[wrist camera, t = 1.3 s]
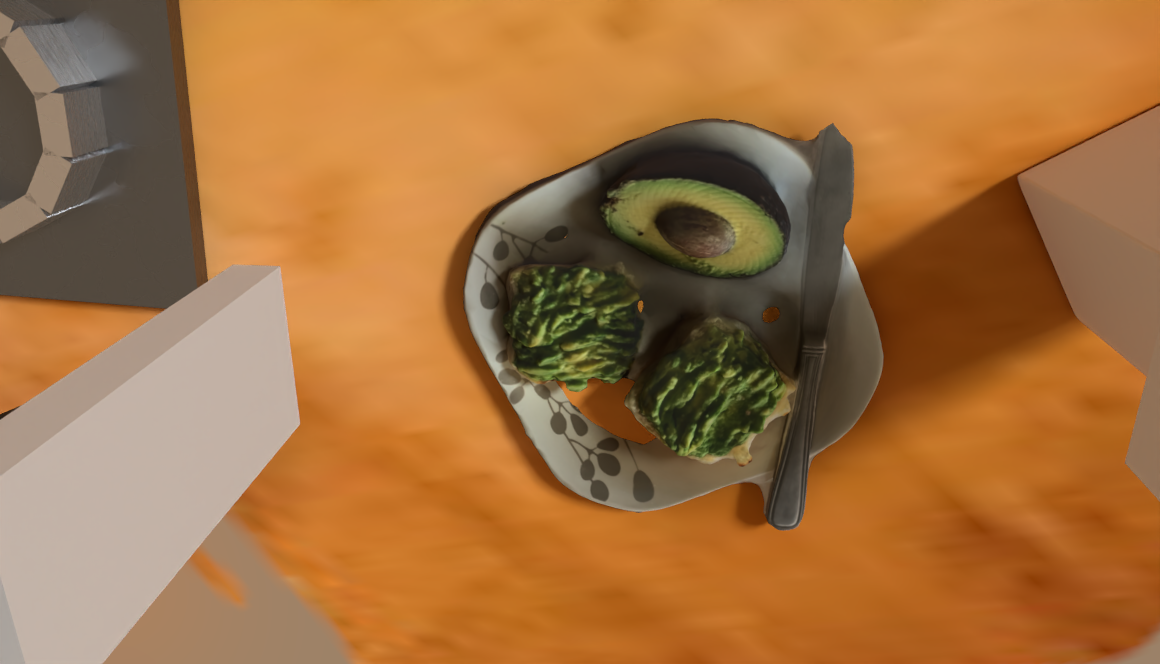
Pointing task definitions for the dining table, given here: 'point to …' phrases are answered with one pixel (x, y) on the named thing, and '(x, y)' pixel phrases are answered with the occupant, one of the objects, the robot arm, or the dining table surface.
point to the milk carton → (1106, 231)
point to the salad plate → (682, 312)
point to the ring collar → (97, 154)
